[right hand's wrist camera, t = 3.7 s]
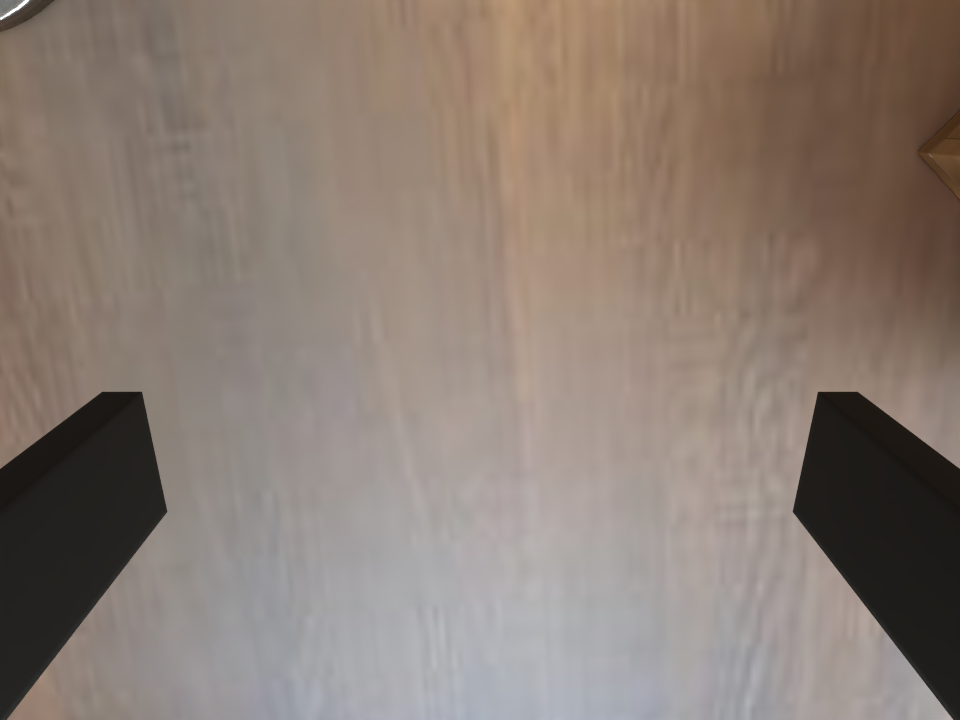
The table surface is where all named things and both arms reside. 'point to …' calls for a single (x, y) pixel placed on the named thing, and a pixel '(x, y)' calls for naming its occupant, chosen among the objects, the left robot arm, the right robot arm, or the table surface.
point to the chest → (945, 154)
